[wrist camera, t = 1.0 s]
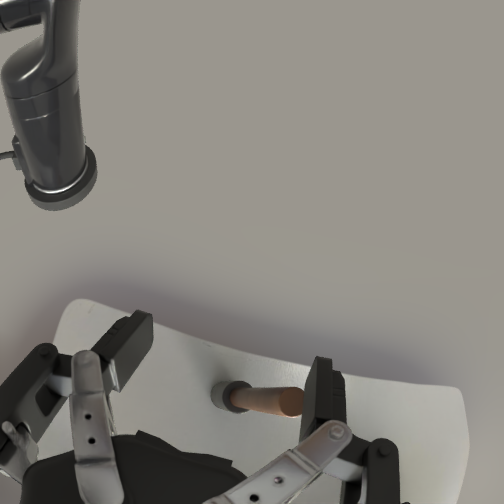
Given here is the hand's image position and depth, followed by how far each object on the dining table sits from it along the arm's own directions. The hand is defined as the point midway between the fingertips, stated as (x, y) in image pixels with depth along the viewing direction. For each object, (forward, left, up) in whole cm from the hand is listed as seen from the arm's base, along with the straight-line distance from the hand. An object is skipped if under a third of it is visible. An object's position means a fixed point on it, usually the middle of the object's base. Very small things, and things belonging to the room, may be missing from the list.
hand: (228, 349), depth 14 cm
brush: (+4, -4, -21) cm, 22 cm away
